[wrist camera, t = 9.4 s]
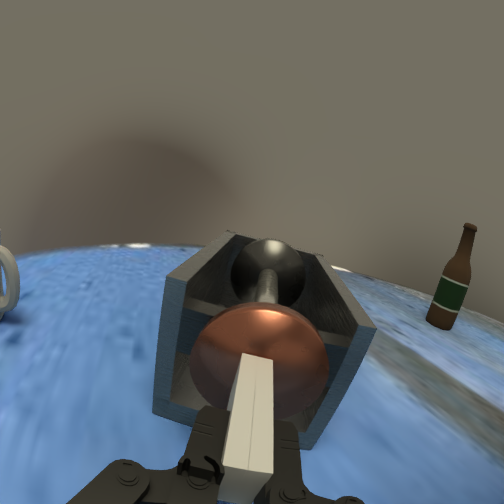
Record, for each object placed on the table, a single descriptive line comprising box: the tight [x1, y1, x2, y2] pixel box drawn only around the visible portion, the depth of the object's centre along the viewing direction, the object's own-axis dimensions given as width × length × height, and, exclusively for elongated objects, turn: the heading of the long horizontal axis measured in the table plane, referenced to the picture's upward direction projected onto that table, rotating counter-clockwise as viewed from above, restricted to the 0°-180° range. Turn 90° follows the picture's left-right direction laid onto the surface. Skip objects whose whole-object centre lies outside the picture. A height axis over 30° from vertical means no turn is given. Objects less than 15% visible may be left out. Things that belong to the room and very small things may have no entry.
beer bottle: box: [426, 223, 477, 330], centre depth 50 cm, size 8×8×24 cm
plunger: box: [189, 239, 329, 420], centre depth 22 cm, size 18×8×8 cm, turn 175°
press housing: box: [152, 230, 377, 450], centre depth 25 cm, size 20×12×11 cm, turn 175°
